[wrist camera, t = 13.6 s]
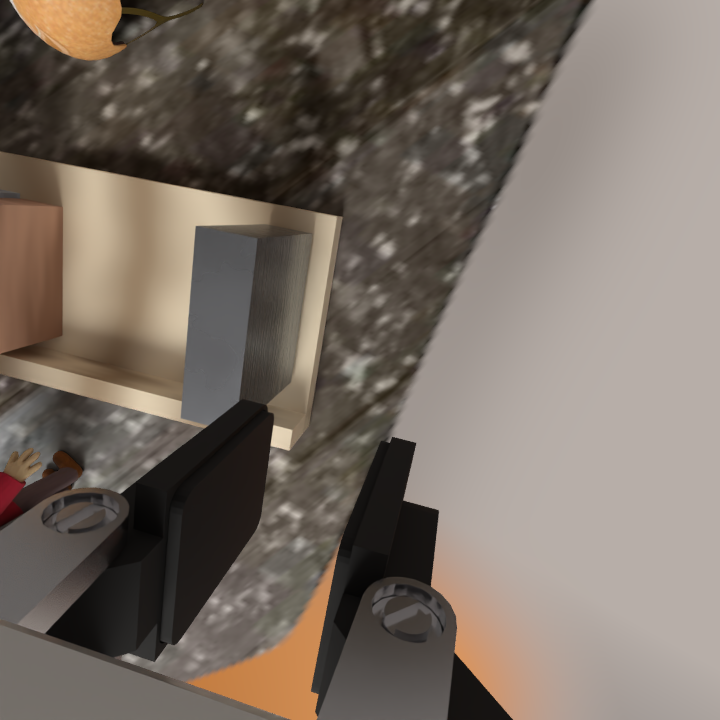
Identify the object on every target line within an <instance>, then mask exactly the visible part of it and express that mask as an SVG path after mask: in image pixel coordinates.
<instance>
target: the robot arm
mask: <svg viewBox="0 0 720 720" xmlns="http://www.w3.org/2000/svg"><path fill="white" fill-rule="evenodd" d="M273 425H274V414H273V413H270V412H268V407H267V405H265V404H261V403H257V402H253V401H249V400H245V399H242V400H240V401H239V402H238V403H236V404H235V405H234V406H233V407H231V408H230V409H229V410H227V411H226V412H225V413H224V414H222V415H221V416H220V417H219V418H217V419H216V420H215V421H213V422H212V423H211V424H210V425H208V426H207V427H206V428H205V429H203V430H202V431H201V432H199V433H198V434H197V435H196V436H194V437H193V438H192V439H191V440H189V441H188V442H187V443H185V444H184V445H182V446H181V447H180V448H178V449H177V450H176V451H175V452H173V453H172V454H171V455H170V456H168V457H167V458H166V459H164V460H163V461H162V462H161V463H159V464H158V465H157V466H155V467H154V468H153V469H152V470H150V471H149V472H148V473H147V474H145V475H144V476H143V477H141V478H140V479H139V480H138V481H136V482H135V483H134V484H133V485H131V486H130V487H129V488H127V489H126V490H125V491H124V492H122V493H121V494H119V493H116V492H114V491H111V490H108V489H101V488H78V489H72V490H67V491H64V492H61V493H58V494H55V495H52V496H51V497H49V498H47V499H45V500H43V501H42V502H40V503H39V504H37V505H36V506H35V507H33V508H32V509H31V510H29V511H28V512H26V513H25V514H24V515H22V516H21V517H19V518H18V519H17V520H15V521H14V522H12V523H11V524H10V525H8V526H7V527H5V528H4V529H3V530H1V531H0V720H290V719H287V718H283V717H281V716H278V715H275V714H273V713H269V712H267V711H264V710H261V709H258V708H256V707H253V706H250V705H247V704H244V703H242V702H239V701H236V700H233V699H230V698H227V697H225V696H222V695H219V694H216V693H213V692H211V691H208V690H205V689H202V688H199V687H196V686H193V685H191V684H188V683H185V682H182V681H179V680H176V679H173V678H170V677H168V676H165V675H162V674H159V673H156V672H153V671H150V670H147V669H145V668H142V667H139V666H136V665H133V664H130V663H127V662H124V661H122V660H121V659H122V655H124V654H127V653H130V654H133V655H136V656H139V657H142V658H145V659H147V660H150V661H153V662H155V661H156V659H157V658H158V656H159V655H160V654H161V652H162V651H163V649H164V648H165V647H166V645H167V644H171V645H175V644H177V643H178V642H179V640H180V639H181V638H182V636H183V635H184V633H185V632H186V630H187V629H188V628H189V626H190V625H191V623H192V622H193V620H194V619H195V617H196V616H197V615H198V613H199V612H200V610H201V609H202V607H203V606H204V604H205V603H206V602H207V600H208V599H209V597H210V596H211V594H212V593H213V591H214V590H215V589H216V587H217V586H218V584H219V583H220V581H221V580H222V578H223V577H224V576H225V574H226V573H227V571H228V570H229V568H230V567H231V565H232V564H233V563H234V561H235V560H236V558H237V557H238V555H239V554H240V552H241V551H242V550H243V548H244V547H245V545H246V544H247V542H248V541H249V539H250V538H251V537H252V535H253V534H254V532H255V530H256V529H257V526H258V524H259V521H260V517H261V512H262V504H263V497H264V490H265V483H266V475H267V468H268V461H269V454H270V446H271V439H272V432H273ZM415 446H416V443H414V442H410V441H406V440H403V439H399V438H395V437H392V439H391V442H390V443H388V442H384V441H381V442H380V445H379V447H378V450H377V452H376V455H375V457H374V460H373V462H372V465H371V467H370V470H369V472H368V475H367V477H366V479H365V482H364V484H363V487H362V489H361V492H360V494H359V497H358V499H357V502H356V504H355V507H354V509H353V512H352V514H351V517H350V519H349V521H348V524H347V526H346V529H345V531H344V534H343V537H342V540H341V544H340V547H339V551H338V555H337V560H336V565H335V570H334V575H333V580H332V585H331V591H330V595H329V601H328V606H327V611H326V616H325V621H324V627H323V631H322V636H321V642H320V647H319V652H318V657H317V662H316V668H315V673H314V677H313V683H312V689H311V692H314V693H317V694H319V696H318V701H317V706H316V711H315V712H316V714H317V716H318V718H317V720H513V719H512V718H511V717H510V716H509V715H508V714H507V712H506V711H505V710H504V709H503V708H502V707H501V705H500V704H499V703H498V702H497V701H496V700H495V699H494V697H493V696H492V695H491V694H490V693H489V692H488V691H487V689H486V688H485V687H484V686H483V685H482V684H481V682H480V681H479V680H478V679H477V678H476V677H475V676H474V675H473V673H472V672H471V671H470V670H469V669H468V668H467V666H466V665H465V664H464V663H463V662H462V661H461V660H460V658H459V657H458V656H457V655H456V654H455V653H454V650H455V641H456V631H457V625H456V616H455V614H454V611H453V609H452V607H451V605H450V604H449V603H448V601H447V600H446V599H445V598H444V597H443V596H442V595H441V594H440V593H439V592H437V591H436V590H435V589H433V588H432V587H431V579H432V569H433V561H434V552H435V543H436V542H435V541H436V533H437V523H438V514H439V511H438V510H436V509H432V508H429V507H425V506H421V505H418V504H414V503H410V502H406V501H403V498H404V494H405V490H406V485H407V481H408V477H409V472H410V468H411V464H412V460H413V455H414V451H415Z"/></svg>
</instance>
